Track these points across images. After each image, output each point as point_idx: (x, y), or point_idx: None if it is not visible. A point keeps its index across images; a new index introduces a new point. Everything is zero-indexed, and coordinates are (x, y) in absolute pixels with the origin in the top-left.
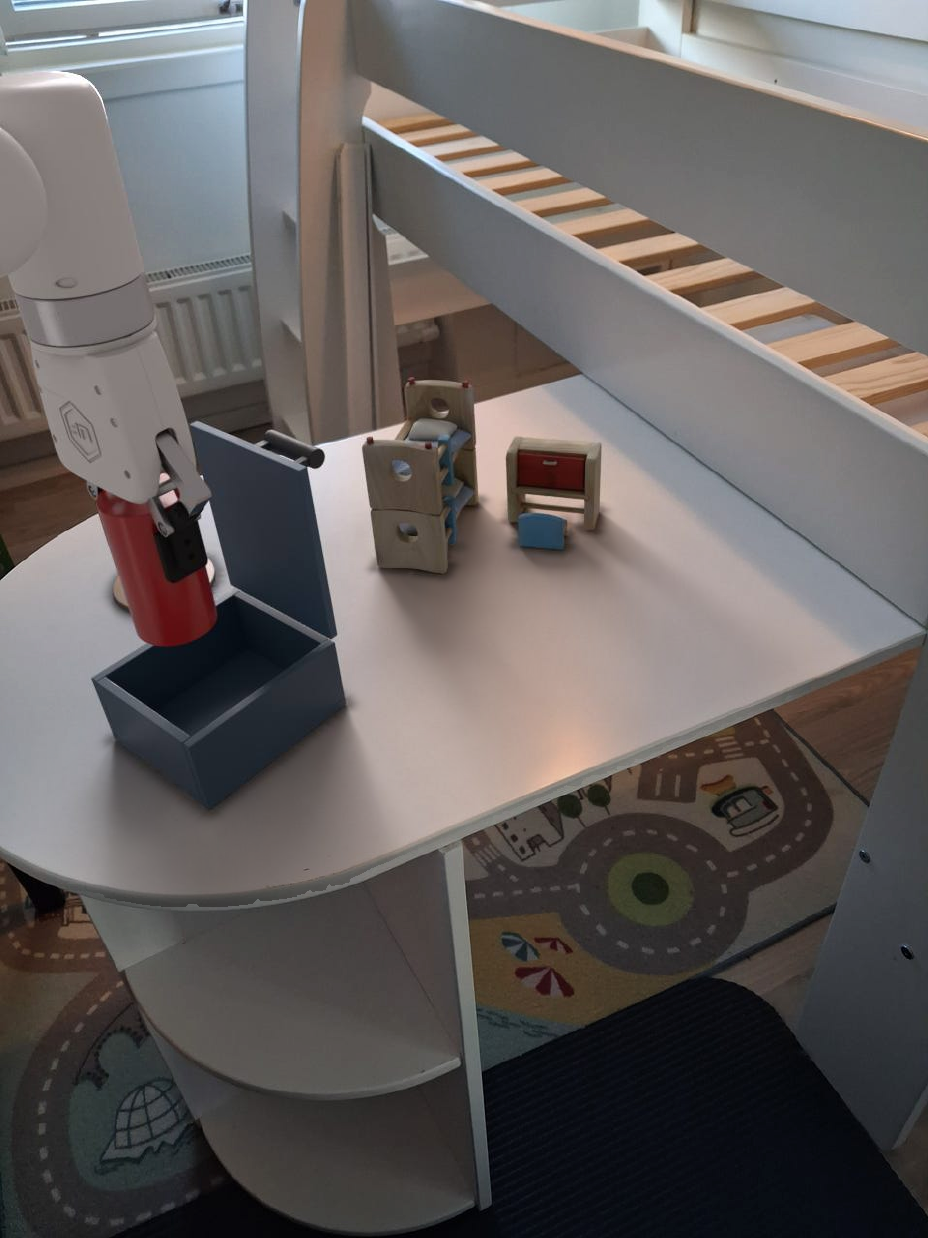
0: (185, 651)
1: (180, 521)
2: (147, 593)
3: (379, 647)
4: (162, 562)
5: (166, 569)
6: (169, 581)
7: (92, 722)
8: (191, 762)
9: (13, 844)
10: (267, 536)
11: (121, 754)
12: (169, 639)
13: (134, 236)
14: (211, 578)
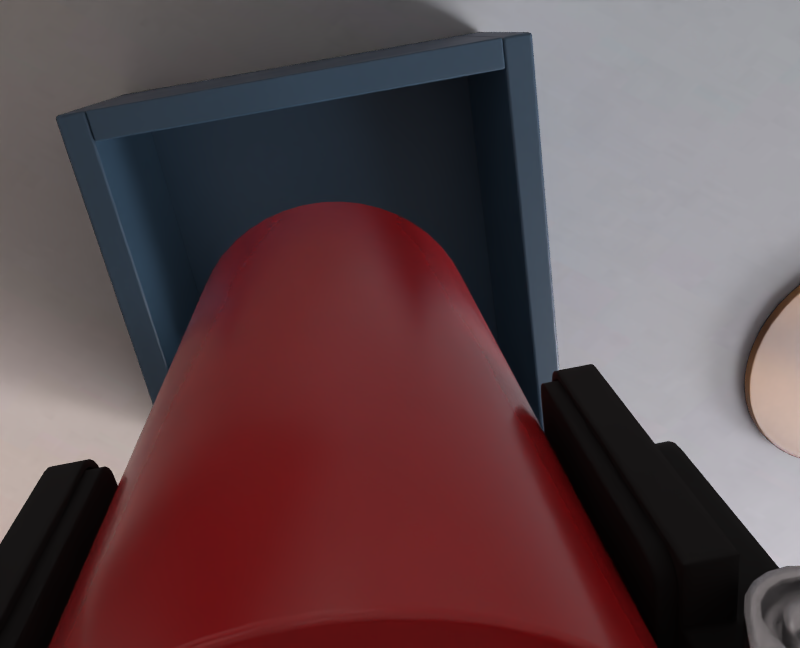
0: (511, 289)
1: None
2: (195, 339)
3: None
4: (29, 537)
5: (17, 516)
6: (64, 464)
7: (572, 16)
8: (86, 107)
9: None
10: None
11: (423, 20)
12: (211, 274)
13: None
14: (769, 437)
